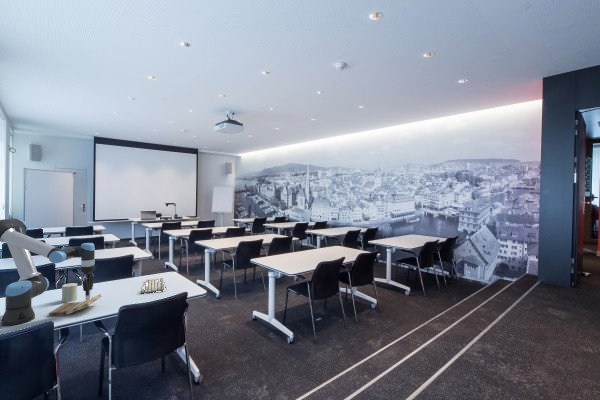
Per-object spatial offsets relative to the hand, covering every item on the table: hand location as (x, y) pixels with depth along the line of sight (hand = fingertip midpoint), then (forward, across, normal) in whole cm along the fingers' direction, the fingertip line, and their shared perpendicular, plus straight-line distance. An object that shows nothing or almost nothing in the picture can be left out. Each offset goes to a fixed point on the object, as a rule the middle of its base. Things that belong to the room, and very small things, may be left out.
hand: (88, 299), depth 201 cm
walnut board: (+7, 0, +14) cm, 16 cm away
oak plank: (+4, 0, +2) cm, 4 cm away
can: (+7, +21, +22) cm, 31 cm away
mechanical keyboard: (+8, +48, -28) cm, 57 cm away
